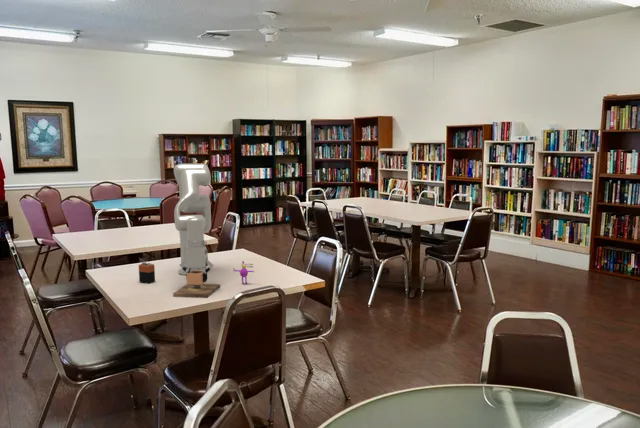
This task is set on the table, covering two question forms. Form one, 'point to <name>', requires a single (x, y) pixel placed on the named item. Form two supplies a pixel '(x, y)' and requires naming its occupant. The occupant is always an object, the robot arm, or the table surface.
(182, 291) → the post base
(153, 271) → the battery
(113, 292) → the table surface
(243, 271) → the wizard figurine
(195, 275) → the tan square box
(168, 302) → the table surface
